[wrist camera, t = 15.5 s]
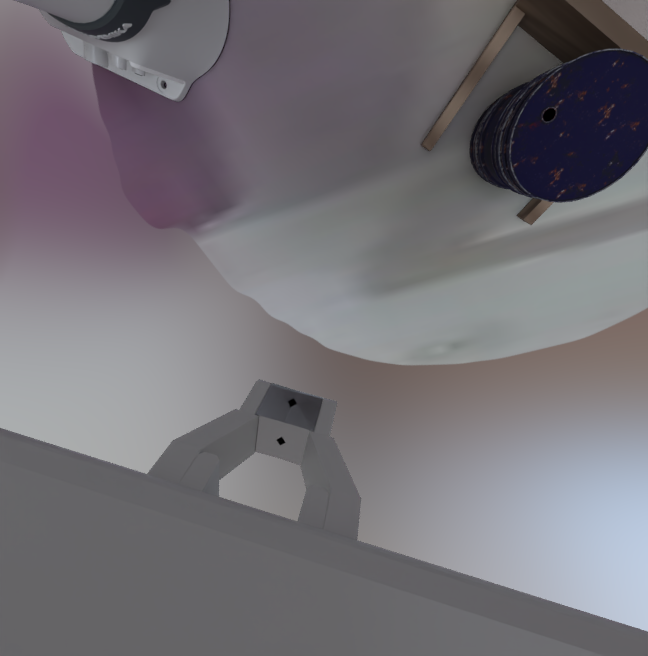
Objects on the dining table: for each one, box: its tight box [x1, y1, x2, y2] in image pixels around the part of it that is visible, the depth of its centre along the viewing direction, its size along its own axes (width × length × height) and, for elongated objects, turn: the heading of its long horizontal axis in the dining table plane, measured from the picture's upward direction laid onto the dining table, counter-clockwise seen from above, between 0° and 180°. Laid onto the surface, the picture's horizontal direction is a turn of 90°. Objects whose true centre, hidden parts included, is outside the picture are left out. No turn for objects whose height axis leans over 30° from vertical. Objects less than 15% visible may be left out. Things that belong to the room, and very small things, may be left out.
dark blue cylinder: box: [470, 49, 648, 203], centre depth 29 cm, size 10×10×15 cm
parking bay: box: [421, 0, 648, 225], centre depth 32 cm, size 14×16×8 cm
